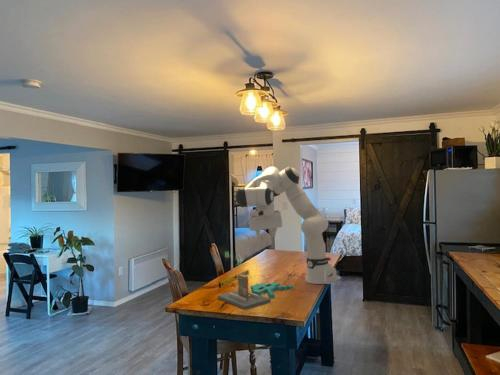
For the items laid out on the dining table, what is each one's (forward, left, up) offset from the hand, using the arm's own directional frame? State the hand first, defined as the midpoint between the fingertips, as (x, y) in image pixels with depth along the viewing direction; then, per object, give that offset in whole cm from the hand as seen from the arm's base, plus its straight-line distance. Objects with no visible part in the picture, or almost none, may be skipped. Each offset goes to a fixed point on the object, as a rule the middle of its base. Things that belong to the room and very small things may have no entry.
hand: (266, 237), depth 189 cm
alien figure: (-7, -9, -32) cm, 34 cm away
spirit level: (-6, -40, -32) cm, 52 cm away
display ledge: (+13, -5, -31) cm, 34 cm away
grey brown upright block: (+13, -5, -30) cm, 33 cm away
